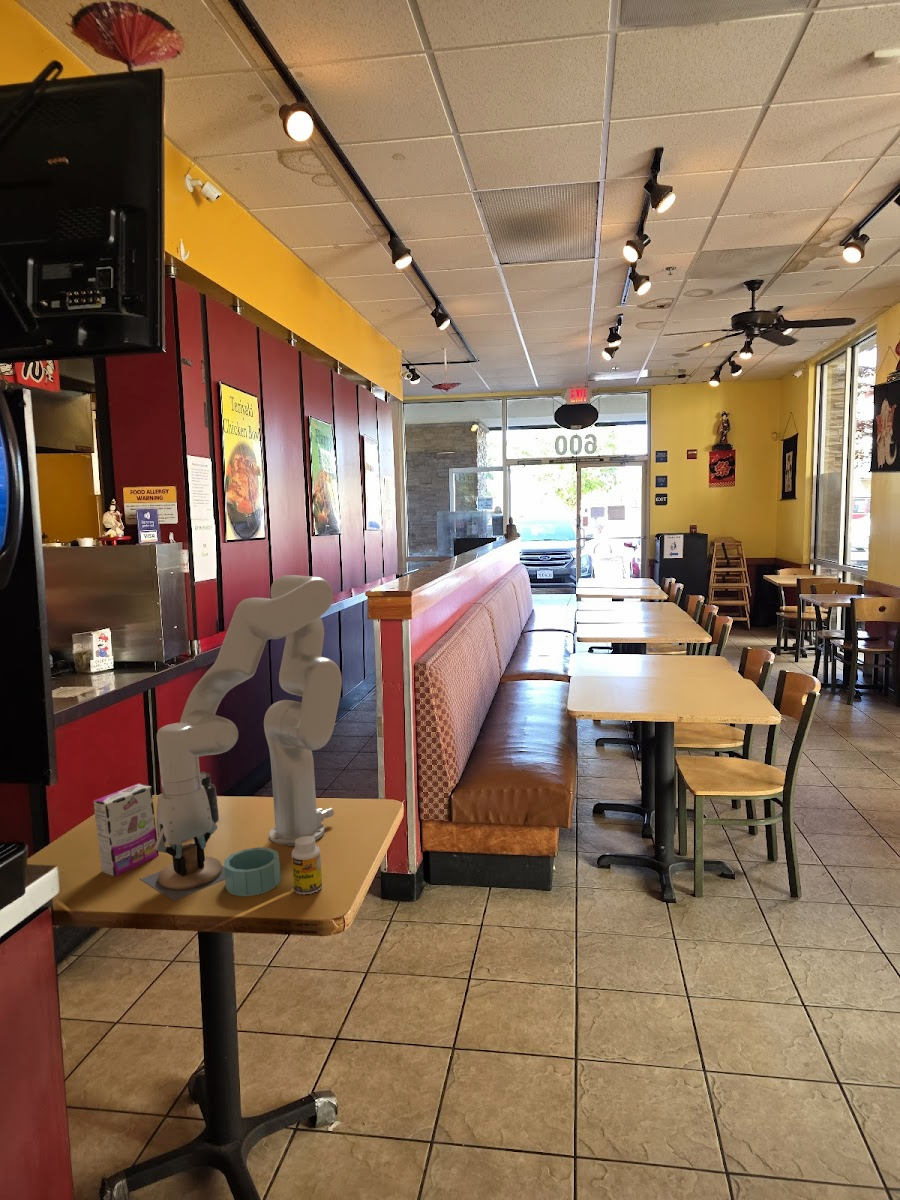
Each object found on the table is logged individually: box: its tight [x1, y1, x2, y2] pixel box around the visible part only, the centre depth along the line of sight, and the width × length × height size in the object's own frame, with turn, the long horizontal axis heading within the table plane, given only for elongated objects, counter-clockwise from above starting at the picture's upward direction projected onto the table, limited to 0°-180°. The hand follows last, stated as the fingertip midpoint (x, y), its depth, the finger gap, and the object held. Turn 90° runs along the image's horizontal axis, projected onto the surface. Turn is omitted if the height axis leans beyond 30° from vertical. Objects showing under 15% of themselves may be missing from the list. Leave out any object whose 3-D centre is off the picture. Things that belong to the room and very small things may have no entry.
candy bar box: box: [92, 783, 160, 877], centre depth 166 cm, size 11×5×16 cm, turn 148°
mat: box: [140, 864, 225, 902], centre depth 160 cm, size 14×14×1 cm
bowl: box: [223, 847, 282, 897], centre depth 156 cm, size 11×11×6 cm
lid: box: [158, 843, 222, 890], centre depth 160 cm, size 12×12×6 cm
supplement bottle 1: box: [201, 772, 220, 824], centre depth 188 cm, size 7×7×12 cm
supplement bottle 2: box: [291, 836, 323, 896], centre depth 153 cm, size 6×6×10 cm
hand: (189, 869), depth 160 cm, fingers closed on lid, 3 cm apart
